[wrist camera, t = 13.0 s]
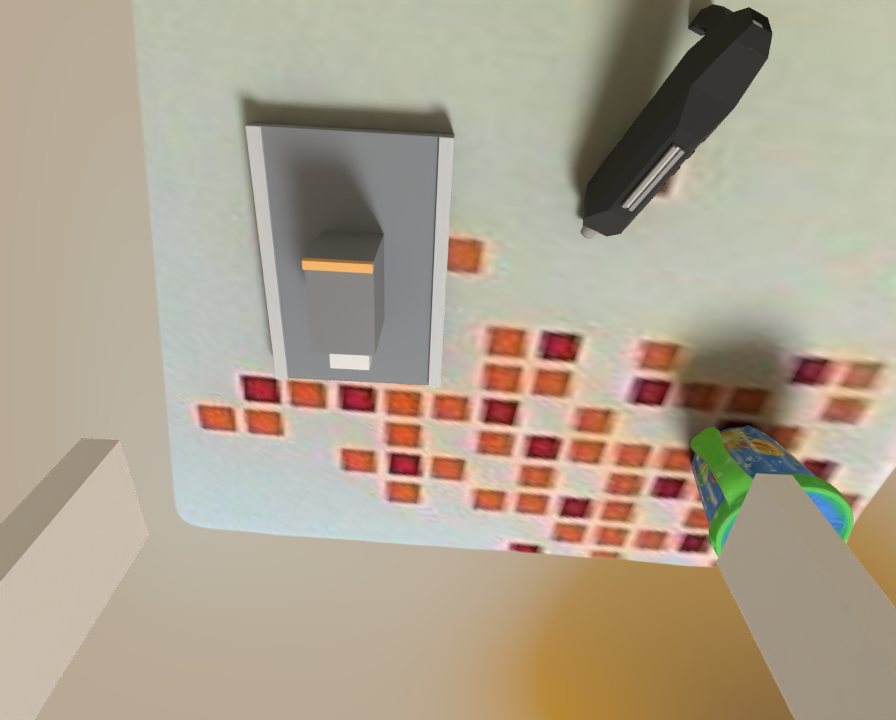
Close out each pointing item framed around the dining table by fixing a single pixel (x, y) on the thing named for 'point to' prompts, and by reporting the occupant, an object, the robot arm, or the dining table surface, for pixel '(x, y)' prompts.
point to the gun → (678, 116)
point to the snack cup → (733, 469)
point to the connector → (345, 296)
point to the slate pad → (363, 211)
